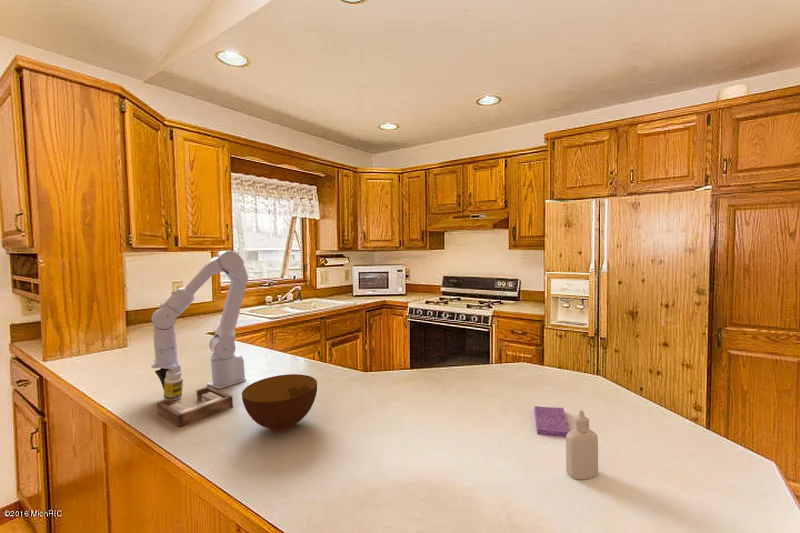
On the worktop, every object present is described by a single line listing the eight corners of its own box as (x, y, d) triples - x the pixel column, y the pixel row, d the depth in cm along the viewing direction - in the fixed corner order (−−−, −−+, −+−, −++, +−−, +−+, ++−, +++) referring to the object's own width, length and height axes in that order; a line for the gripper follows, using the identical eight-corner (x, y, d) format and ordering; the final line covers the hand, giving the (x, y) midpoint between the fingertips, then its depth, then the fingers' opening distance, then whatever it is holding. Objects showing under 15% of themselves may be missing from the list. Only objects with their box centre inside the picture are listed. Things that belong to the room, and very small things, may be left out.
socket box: (209, 395, 113) (208, 386, 113) (232, 406, 104) (232, 396, 104) (157, 413, 102) (156, 403, 102) (179, 427, 93) (178, 415, 93)
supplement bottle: (173, 402, 109) (174, 377, 107) (159, 398, 110) (160, 373, 108) (185, 394, 114) (186, 370, 112) (172, 389, 115) (173, 365, 113)
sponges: (537, 436, 83) (536, 428, 83) (534, 411, 95) (534, 404, 95) (571, 440, 81) (570, 431, 81) (563, 414, 93) (563, 407, 93)
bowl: (248, 454, 80) (245, 408, 79) (241, 420, 96) (238, 383, 95) (327, 432, 88) (325, 391, 87) (309, 404, 104) (307, 369, 103)
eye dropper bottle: (564, 465, 72) (563, 404, 71) (596, 468, 70) (595, 407, 69) (567, 479, 67) (566, 415, 67) (601, 483, 66) (601, 417, 65)
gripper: (141, 347, 114) (145, 390, 115) (160, 355, 105) (163, 401, 106) (167, 342, 119) (170, 383, 120) (186, 349, 111) (190, 393, 111)
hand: (169, 391), depth 113 cm, fingers closed
